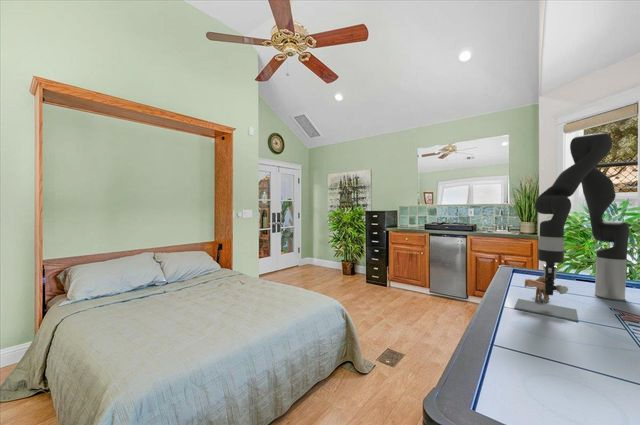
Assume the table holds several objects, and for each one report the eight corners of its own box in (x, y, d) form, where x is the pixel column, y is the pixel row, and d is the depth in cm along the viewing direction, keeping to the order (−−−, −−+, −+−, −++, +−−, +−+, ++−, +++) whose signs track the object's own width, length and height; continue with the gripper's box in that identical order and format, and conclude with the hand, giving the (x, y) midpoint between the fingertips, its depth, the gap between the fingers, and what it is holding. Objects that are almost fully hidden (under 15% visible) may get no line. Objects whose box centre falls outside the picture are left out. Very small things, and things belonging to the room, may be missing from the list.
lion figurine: (534, 294, 125) (535, 274, 125) (549, 296, 122) (550, 276, 122) (534, 303, 113) (535, 281, 113) (551, 306, 110) (552, 283, 110)
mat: (518, 299, 117) (518, 298, 117) (576, 310, 105) (576, 309, 105) (514, 308, 106) (514, 307, 106) (578, 322, 95) (578, 320, 95)
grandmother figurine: (525, 275, 113) (567, 281, 104) (525, 284, 113) (567, 291, 105) (524, 281, 107) (568, 288, 99) (523, 291, 107) (568, 299, 99)
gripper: (564, 252, 97) (562, 299, 97) (563, 247, 108) (562, 290, 108) (537, 249, 102) (535, 294, 102) (539, 245, 113) (537, 286, 113)
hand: (549, 292), depth 105 cm, fingers closed on grandmother figurine, 7 cm apart
